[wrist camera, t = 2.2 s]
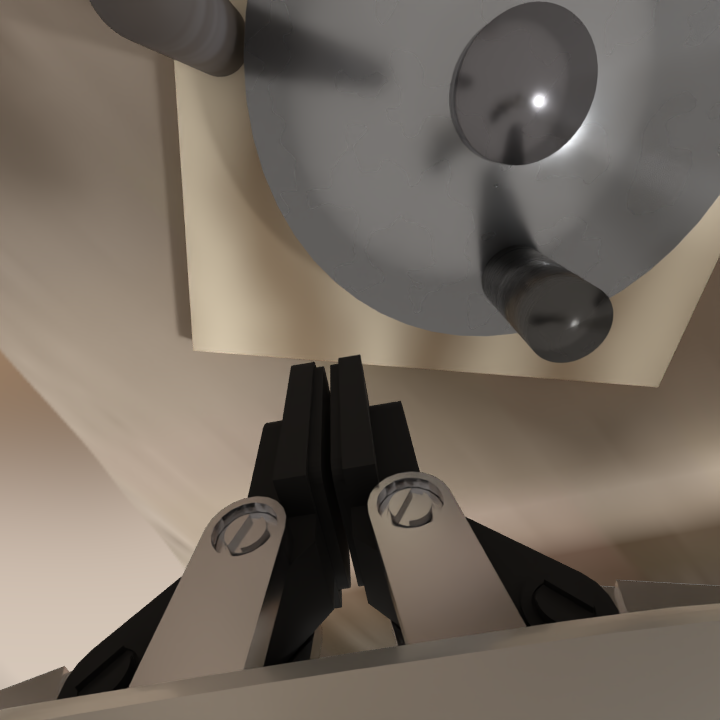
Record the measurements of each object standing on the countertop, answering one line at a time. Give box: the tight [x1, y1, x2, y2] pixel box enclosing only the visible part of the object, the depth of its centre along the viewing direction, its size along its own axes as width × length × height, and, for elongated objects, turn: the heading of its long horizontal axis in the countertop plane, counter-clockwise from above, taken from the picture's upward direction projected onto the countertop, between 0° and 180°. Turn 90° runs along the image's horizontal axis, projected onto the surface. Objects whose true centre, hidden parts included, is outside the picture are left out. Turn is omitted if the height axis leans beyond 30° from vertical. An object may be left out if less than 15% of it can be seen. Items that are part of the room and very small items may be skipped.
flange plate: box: [244, 0, 720, 363], centre depth 13 cm, size 18×20×6 cm
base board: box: [90, 0, 720, 387], centre depth 15 cm, size 24×24×8 cm
